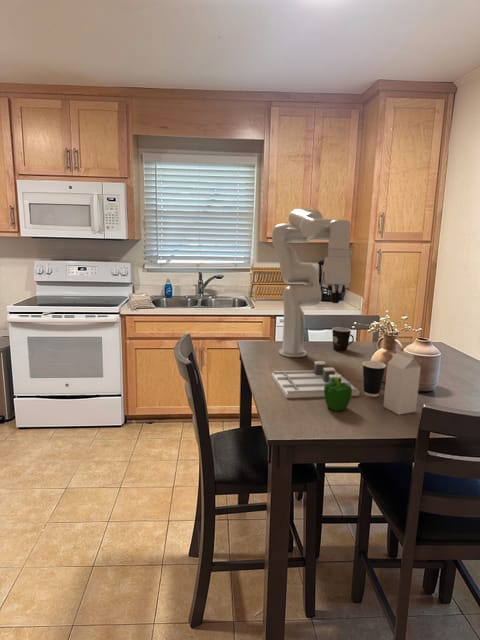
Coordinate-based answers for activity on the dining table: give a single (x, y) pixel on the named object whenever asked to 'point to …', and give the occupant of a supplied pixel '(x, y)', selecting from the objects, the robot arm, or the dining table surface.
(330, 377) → the breaker right
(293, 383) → the board
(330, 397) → the bell pepper
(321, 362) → the block
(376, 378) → the dixie cup
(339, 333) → the coffee mug
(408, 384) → the milk carton
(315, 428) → the dining table surface
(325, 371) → the block
